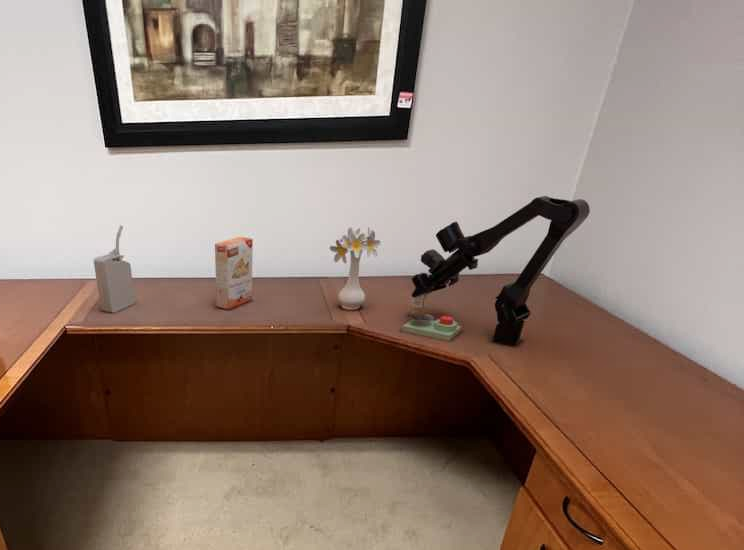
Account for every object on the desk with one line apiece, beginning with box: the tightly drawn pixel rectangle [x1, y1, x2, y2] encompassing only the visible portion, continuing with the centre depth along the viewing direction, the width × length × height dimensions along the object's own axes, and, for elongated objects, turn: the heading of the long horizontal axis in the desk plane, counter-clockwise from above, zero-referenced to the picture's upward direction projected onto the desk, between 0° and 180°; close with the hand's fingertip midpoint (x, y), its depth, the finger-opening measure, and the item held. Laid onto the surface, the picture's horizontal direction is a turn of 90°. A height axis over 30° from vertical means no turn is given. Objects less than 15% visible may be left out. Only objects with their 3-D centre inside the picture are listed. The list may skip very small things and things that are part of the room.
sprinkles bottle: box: [409, 271, 431, 316], centre depth 181 cm, size 5×5×14 cm
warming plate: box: [409, 312, 434, 322], centre depth 173 cm, size 7×7×1 cm
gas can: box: [93, 224, 136, 314], centre depth 190 cm, size 15×5×25 cm, turn 150°
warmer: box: [401, 318, 462, 342], centre depth 172 cm, size 15×10×4 cm, turn 53°
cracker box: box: [214, 236, 254, 310], centre depth 192 cm, size 14×6×21 cm, turn 143°
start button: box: [440, 315, 454, 325], centre depth 169 cm, size 4×4×2 cm
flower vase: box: [329, 226, 381, 311], centre depth 185 cm, size 13×18×25 cm
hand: (416, 294), depth 182 cm, fingers closed on sprinkles bottle, 4 cm apart
